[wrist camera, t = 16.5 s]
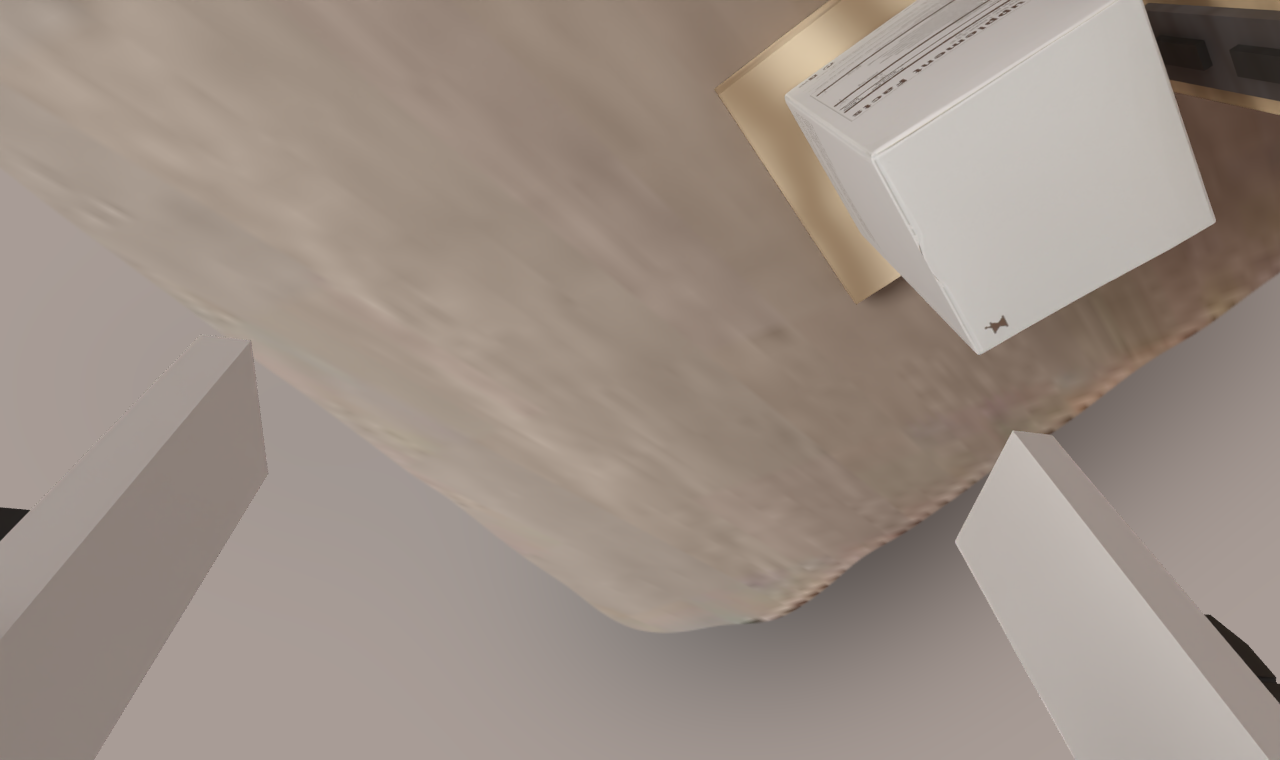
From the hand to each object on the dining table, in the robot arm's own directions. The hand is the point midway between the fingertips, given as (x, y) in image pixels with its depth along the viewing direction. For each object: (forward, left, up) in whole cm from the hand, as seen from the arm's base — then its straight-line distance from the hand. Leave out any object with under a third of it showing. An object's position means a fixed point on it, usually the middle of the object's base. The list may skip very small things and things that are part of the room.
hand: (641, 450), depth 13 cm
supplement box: (+13, +3, -28) cm, 31 cm away
